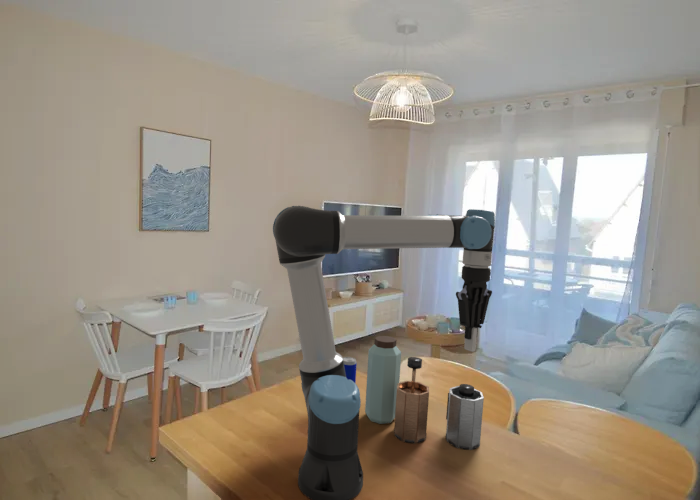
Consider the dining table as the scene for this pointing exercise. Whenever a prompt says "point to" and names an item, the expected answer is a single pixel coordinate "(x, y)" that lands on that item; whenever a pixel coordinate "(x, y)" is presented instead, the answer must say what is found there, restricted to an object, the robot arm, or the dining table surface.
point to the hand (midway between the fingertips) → (469, 349)
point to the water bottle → (382, 380)
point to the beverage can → (350, 368)
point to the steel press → (464, 419)
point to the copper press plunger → (414, 373)
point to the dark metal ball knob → (466, 390)
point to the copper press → (411, 413)
